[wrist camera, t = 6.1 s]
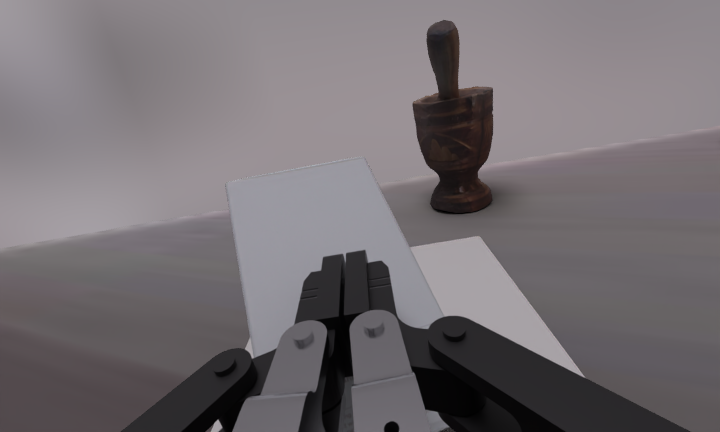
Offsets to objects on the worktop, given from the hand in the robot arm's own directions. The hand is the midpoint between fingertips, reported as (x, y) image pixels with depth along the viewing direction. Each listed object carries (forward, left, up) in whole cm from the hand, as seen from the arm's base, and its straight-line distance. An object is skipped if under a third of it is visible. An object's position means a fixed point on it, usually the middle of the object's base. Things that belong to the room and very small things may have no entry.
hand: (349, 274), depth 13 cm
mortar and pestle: (+11, +28, -10) cm, 32 cm away
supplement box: (0, -2, -7) cm, 7 cm away
